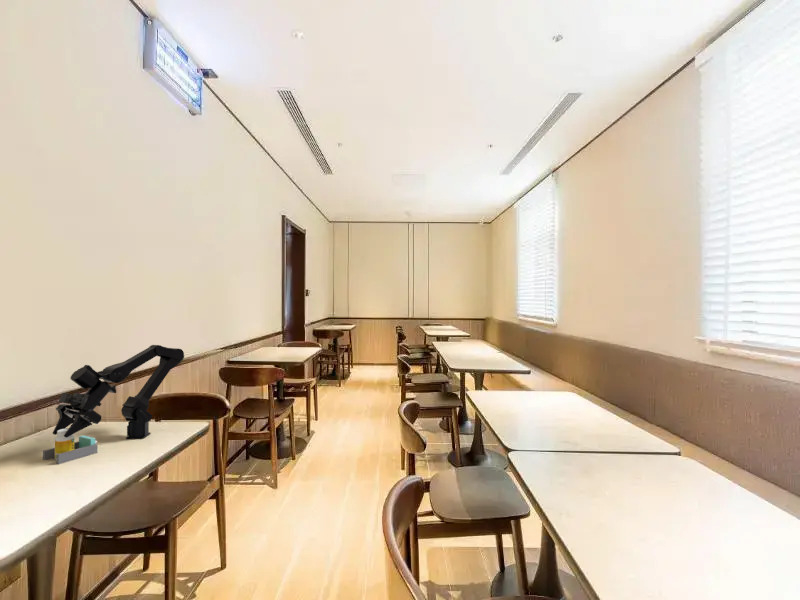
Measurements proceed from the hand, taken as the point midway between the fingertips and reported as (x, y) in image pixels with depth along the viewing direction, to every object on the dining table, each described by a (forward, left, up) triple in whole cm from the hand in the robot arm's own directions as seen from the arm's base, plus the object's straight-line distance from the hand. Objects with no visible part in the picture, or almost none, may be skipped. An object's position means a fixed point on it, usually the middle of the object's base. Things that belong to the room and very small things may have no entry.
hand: (59, 435), depth 149 cm
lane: (-3, -4, -8) cm, 9 cm away
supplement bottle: (-1, -1, -8) cm, 8 cm away
